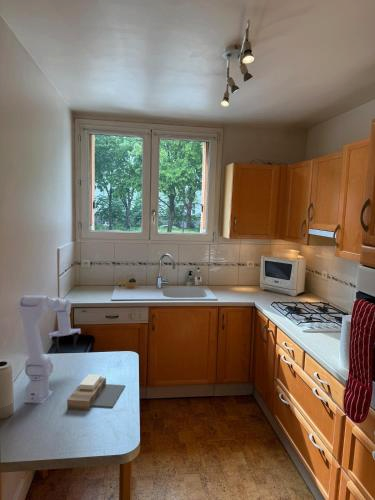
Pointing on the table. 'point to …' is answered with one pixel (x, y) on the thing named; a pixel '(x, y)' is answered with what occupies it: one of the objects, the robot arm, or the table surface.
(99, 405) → the mat
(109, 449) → the table surface
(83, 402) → the brown wooden block
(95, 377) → the cream foam block
